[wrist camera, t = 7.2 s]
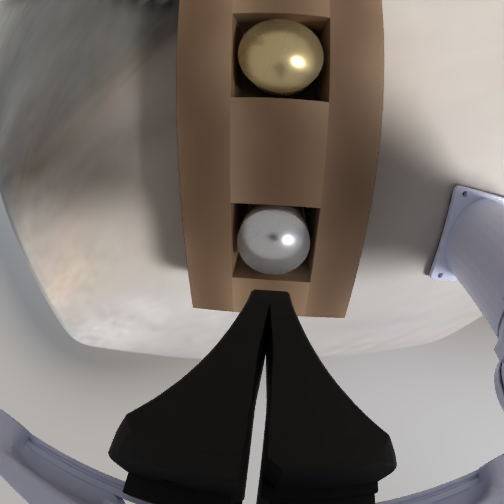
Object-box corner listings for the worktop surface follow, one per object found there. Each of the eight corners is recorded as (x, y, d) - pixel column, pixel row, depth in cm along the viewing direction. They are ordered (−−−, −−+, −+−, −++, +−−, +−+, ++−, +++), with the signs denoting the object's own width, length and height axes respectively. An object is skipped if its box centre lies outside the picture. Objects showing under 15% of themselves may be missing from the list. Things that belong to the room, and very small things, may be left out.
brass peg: (315, 38, 12) (323, 22, 9) (313, 98, 14) (322, 95, 11) (247, 35, 12) (238, 18, 9) (246, 95, 14) (237, 91, 11)
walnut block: (361, 9, 11) (380, -12, 7) (335, 282, 21) (344, 317, 17) (201, 2, 12) (181, -20, 8) (206, 274, 21) (193, 307, 18)
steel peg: (308, 192, 17) (314, 212, 14) (302, 248, 19) (305, 276, 16) (244, 188, 17) (236, 207, 14) (244, 244, 19) (237, 272, 16)
